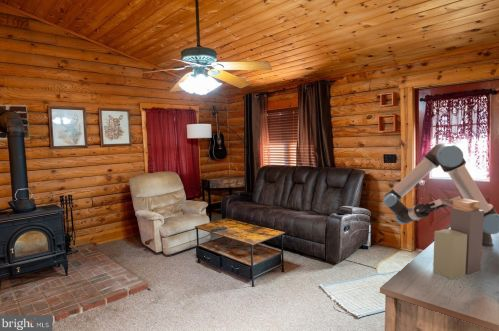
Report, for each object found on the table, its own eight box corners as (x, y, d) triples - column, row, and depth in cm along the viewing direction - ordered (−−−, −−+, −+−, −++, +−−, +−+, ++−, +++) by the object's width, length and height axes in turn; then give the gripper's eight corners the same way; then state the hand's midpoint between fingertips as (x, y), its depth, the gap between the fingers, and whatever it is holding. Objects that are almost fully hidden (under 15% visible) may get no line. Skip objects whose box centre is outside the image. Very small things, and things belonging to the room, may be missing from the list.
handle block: (447, 202, 166) (447, 194, 165) (479, 209, 151) (479, 201, 151) (436, 204, 163) (436, 196, 163) (467, 211, 148) (467, 203, 148)
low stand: (446, 267, 158) (448, 228, 156) (465, 275, 150) (467, 234, 147) (433, 270, 155) (434, 231, 153) (451, 279, 146) (453, 237, 144)
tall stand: (461, 263, 162) (464, 205, 158) (480, 271, 153) (484, 210, 149) (448, 266, 159) (451, 208, 155) (467, 275, 150) (470, 212, 146)
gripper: (438, 215, 181) (471, 204, 163) (404, 221, 173) (435, 210, 154) (432, 202, 184) (464, 190, 165) (399, 208, 175) (429, 195, 157)
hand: (450, 199), depth 160 cm, fingers open, 13 cm apart
